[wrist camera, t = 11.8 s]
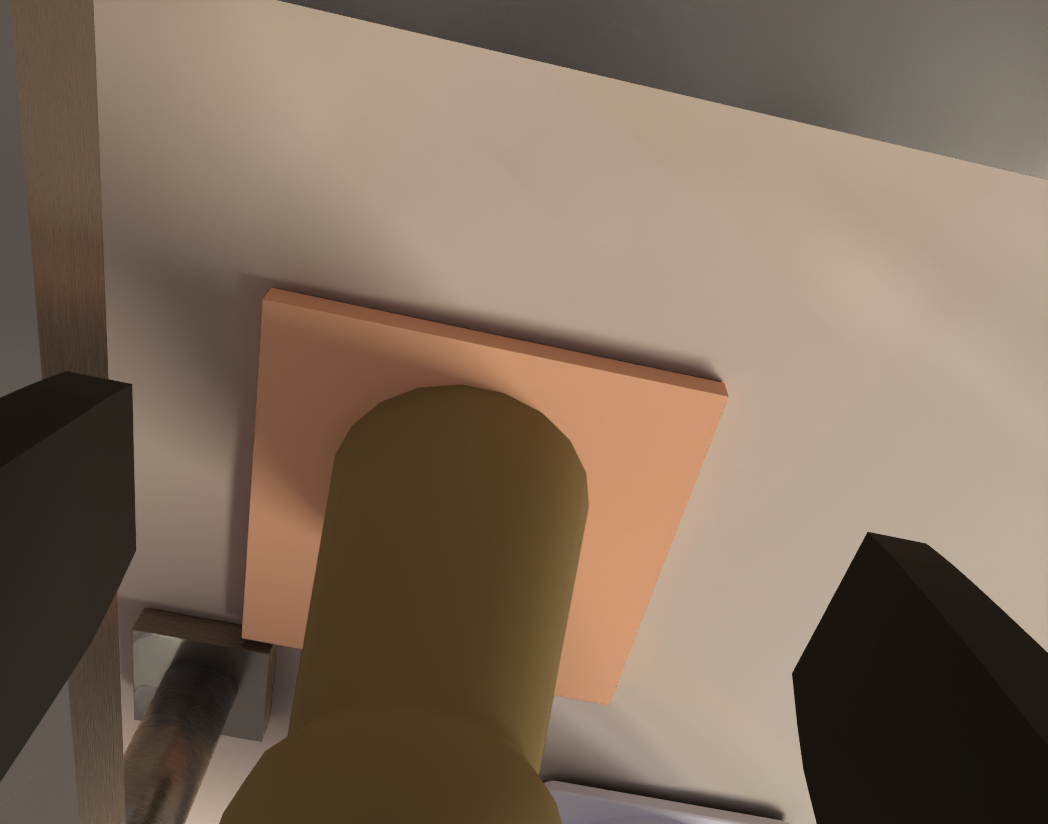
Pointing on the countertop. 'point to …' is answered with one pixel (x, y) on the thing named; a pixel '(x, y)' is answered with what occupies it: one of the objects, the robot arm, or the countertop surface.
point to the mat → (493, 364)
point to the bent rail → (483, 21)
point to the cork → (432, 621)
